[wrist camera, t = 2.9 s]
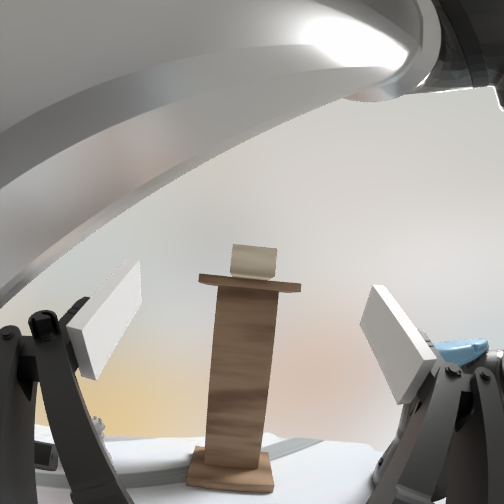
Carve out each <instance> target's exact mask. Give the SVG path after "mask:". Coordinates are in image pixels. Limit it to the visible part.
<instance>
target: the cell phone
mask: <svg viewBox="0 0 504 504" xmlns="http://www.w3.org/2000/svg"><path fill="white" fill-rule="evenodd" d="M58 456H59V455H58V452H57V449H56V446H55V444H50V443H45V442H40V441H35V440H34V463H35V468H38V469H42V470H48V471H55V470H56V469H57V464H58Z"/></svg>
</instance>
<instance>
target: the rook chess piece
mask: <svg viewBox="0 0 504 504" xmlns="http://www.w3.org/2000/svg"><path fill="white" fill-rule="evenodd" d="M90 417H91V416H90ZM91 420H92V422H93V424H94V427H95V429H96V431H97V434H98V436H99V438H100V440H101V443H102V445H103V447H104V449H105V451H106V453H107V455H108V457H109V459H110V461H111V463H112V460H111V458H112V457H111V455H110V453H109V452H108V450H107V449H106V448H105V444H104V440H103V437H104V433H103V432H102V431H103V430H104V429H105V425H104V424H103V423H102V420H101V418H98V420H97V417H96V416H94V419H91Z"/></svg>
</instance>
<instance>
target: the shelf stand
mask: <svg viewBox="0 0 504 504" xmlns="http://www.w3.org/2000/svg"><path fill="white" fill-rule="evenodd" d="M199 282H200V283H203V284H207V285H214V286H218V293H217V303H216V313H215V324H214V334H213V346H212V358H211V369H210V381H209V395H208V409H207V410H208V411H207V423H206V424H207V425H206V440H205V447H200V446H196V447H195V450H194V453H193V457H192V460H191V463H190V467H189V470H188V473H187V477H186V485H191V486H197V487H204V488H213V489H222V490H233V491H250V492H273V489H274V481H273V476H272V471H271V466H270V461H269V455H268V452H260V450H261V443H262V436H263V428H264V420H265V413H266V404H267V396H268V389H269V380H270V372H271V363H272V354H273V345H274V335H275V326H276V315H277V305H278V295H279V294H278V293H279V292H285V293H292V292H301V284H299V283H288V282H277V281H267V280H256V279H246V278H236V277H227V276H218V275H208V274H199Z"/></svg>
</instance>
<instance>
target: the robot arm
mask: <svg viewBox="0 0 504 504" xmlns="http://www.w3.org/2000/svg"><path fill="white" fill-rule="evenodd" d="M489 86H493V87H494V90H495V93H496V96H497V100H498V103H499V107H500V109H501V110H502V111H503V112H504V0H0V308H2V307H3V306H4V305H5V304H6V303H7V302H8V301H9V300H10V299H11V298H12V297H13V296H15V295H16V294H17V293H18V292H19V291H20V290H21V289H23V288H24V287H25V286H26V285H27V284H28V283H30V282H31V281H32V280H33V279H34V278H35V277H37V276H38V275H39V274H40V273H41V272H43V271H44V270H45V269H46V268H48V267H49V266H50V265H51V264H53V263H54V262H55V261H56V260H58V259H59V258H60V257H61V256H63V255H64V254H65V253H67V252H68V251H69V250H71V249H72V248H73V247H74V246H76V245H77V244H78V243H80V242H81V241H83V240H84V239H85V238H87V237H88V236H89V235H90V234H92V233H94V232H95V231H96V230H97V229H99V228H101V227H102V226H104V225H105V224H106V223H108V222H109V221H110V220H112V219H113V218H115V217H117V216H118V215H120V214H121V213H122V212H124V211H125V210H127V209H128V208H130V207H131V206H133V205H134V204H136V203H138V202H139V201H141V200H142V199H144V198H146V197H147V196H149V195H150V194H152V193H154V192H155V191H157V190H158V189H160V188H162V187H163V186H165V185H167V184H168V183H170V182H171V181H173V180H175V179H177V178H178V177H180V176H182V175H183V174H185V173H187V172H189V171H190V170H192V169H194V168H196V167H197V166H199V165H201V164H203V163H204V162H206V161H208V160H210V159H212V158H214V157H216V156H217V155H219V154H221V153H223V152H225V151H227V150H229V149H231V148H233V147H235V146H237V145H238V144H240V143H242V142H244V141H246V140H248V139H250V138H252V137H254V136H256V135H258V134H260V133H263V132H265V131H267V130H269V129H271V128H273V127H275V126H277V125H280V124H282V123H284V122H286V121H288V120H290V119H293V118H295V117H297V116H300V115H302V114H304V113H307V112H309V111H311V110H314V109H316V108H318V107H321V106H323V105H326V104H328V103H331V102H333V101H336V100H338V99H341V98H345V99H348V100H353V101H360V102H378V101H386V100H390V99H394V98H397V97H400V96H402V95H405V94H415V93H429V92H444V91H455V90H464V89H470V88H473V89H474V88H481V87H489ZM141 304H142V293H141V276H140V260H137V259H129V258H128V259H126V260H125V261H124V262H123V263H122V264H121V265H120V267H118V269H117V270H116V271H115V272H114V273H113V274H112V275H111V276H110V277H109V278H108V279H107V280H106V281H105V283H103V285H102V286H101V287H100V288H99V289H98V290H97V291H96V292H95V293H94V294H93V296H92V297H91V298H90V297H83V298H82V299H80V300H78V301H77V302H76V303H75V304H74V305H73V306H72V308H70V309H69V310H68V311H67V313H66V314H65V315H64V316H63V317H62V318H61V319H60V320H59V321H58V319H57V315H56V314H55V313H54V312H53V311H49V310H42V311H38V312H36V313H34V314H33V315H31V317H30V318H29V320H28V324H29V327H30V329H31V333H32V336H22V335H21V332H20V330H19V328H18V327H16V326H12V325H9V326H5V327H3V328H1V329H0V504H38V501H37V492H36V481H35V463H34V424H35V406H36V393H37V384H38V382H40V386H41V391H42V396H43V401H44V405H45V410H46V414H47V418H48V422H49V426H50V429H51V433H52V436H53V440H54V443H55V446H56V449H57V452H58V455H59V458H60V461H61V464H62V467H63V469H64V472H65V475H66V477H67V480H68V482H69V485H70V487H71V491H72V492H71V494H70V496H71V500H72V503H73V504H134V502H133V501H132V499H131V497H130V496H129V494H128V492H127V491H126V489H125V487H124V485H123V484H122V482H121V480H120V478H119V477H118V475H117V473H116V471H115V469H114V467H113V465H112V463H111V461H110V459H109V457H108V455H107V453H106V451H105V449H104V447H103V445H102V443H101V440H100V438H99V436H98V434H97V431H96V429H95V427H94V424H93V422H92V420H91V417H90V415H89V412H88V410H87V407H86V404H85V402H84V399H83V396H82V393H81V391H80V387H79V385H78V382H77V379H76V376H75V371H76V370H77V368H78V367H79V370H80V373H81V376H82V377H86V378H89V379H93V380H97V379H98V377H99V375H100V373H101V371H102V370H103V368H104V366H105V364H106V363H107V361H108V359H109V357H110V356H111V354H112V352H113V350H114V348H115V347H116V345H117V344H118V342H119V340H120V338H121V336H122V335H123V333H124V332H125V330H126V328H127V327H128V325H129V323H130V322H131V320H132V318H133V317H134V315H135V313H136V312H137V310H138V309H139V307H140V305H141ZM360 326H361V328H362V330H363V332H364V334H365V336H366V338H367V340H368V342H369V344H370V346H371V348H372V351H373V353H374V355H375V357H376V359H377V361H378V363H379V365H380V367H381V369H382V372H383V374H384V375H385V378H386V380H387V383H388V385H389V387H390V389H391V391H392V394H393V396H394V398H395V400H396V402H397V405H399V404H404V405H403V410H402V414H401V418H400V422H399V427H398V431H397V434H396V437H395V438H394V440H393V441H392V443H391V444H390V446H389V447H388V449H387V450H386V451H385V453H384V454H383V456H382V457H381V458H380V460H379V461H378V463H377V465H376V468H375V471H374V474H373V483H374V485H375V487H376V488H375V490H374V491H373V493H372V495H371V496H370V498H369V500H368V501H367V503H366V504H435V503H433V502H435V501H438V500H441V499H443V498H445V497H446V504H504V350H488V348H489V345H488V341H487V340H485V339H464V340H454V341H446V342H440V343H434V344H433V343H432V342H430V339H429V338H428V336H427V335H426V334H425V333H424V332H422V331H421V330H420V329H416V328H415V326H414V325H413V324H412V322H411V321H410V319H409V318H408V317H407V315H406V314H405V313H404V311H403V310H402V309H401V308H400V306H399V305H398V303H397V302H396V301H395V300H394V298H393V297H392V296H391V294H390V293H389V292H388V290H387V289H386V288H385V287H384V286H382V285H372V288H371V292H370V294H369V298H368V301H367V304H366V307H365V310H364V313H363V316H362V319H361V322H360Z"/></svg>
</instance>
